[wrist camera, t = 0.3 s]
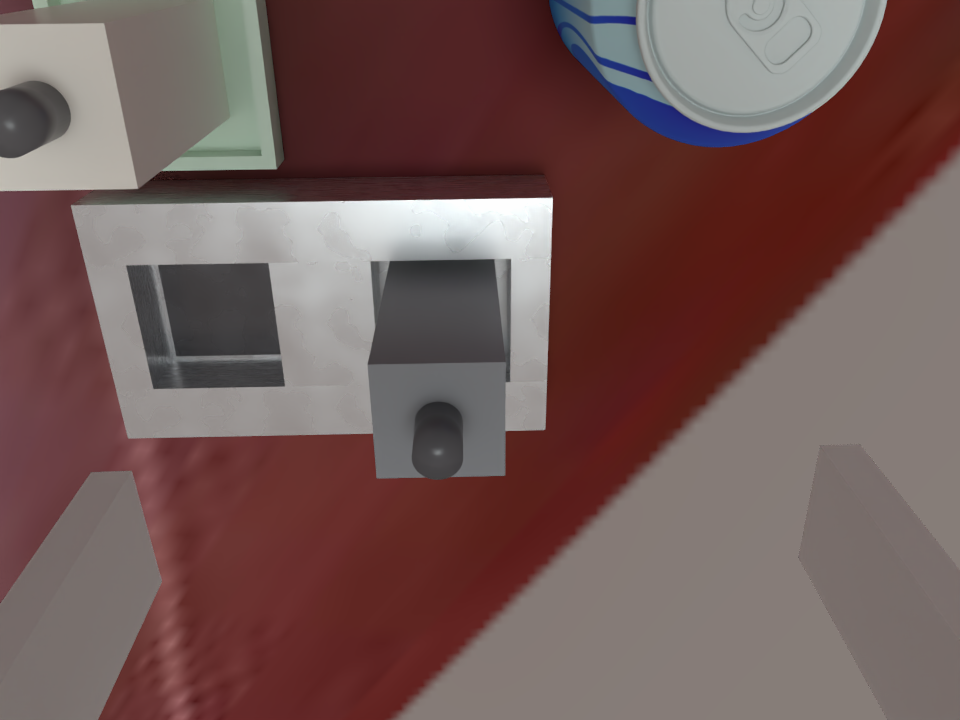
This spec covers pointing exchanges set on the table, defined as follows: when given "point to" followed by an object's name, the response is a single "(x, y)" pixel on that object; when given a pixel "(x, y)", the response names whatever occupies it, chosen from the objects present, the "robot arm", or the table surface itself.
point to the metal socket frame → (296, 293)
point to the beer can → (719, 60)
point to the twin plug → (438, 371)
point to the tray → (237, 94)
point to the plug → (106, 91)
